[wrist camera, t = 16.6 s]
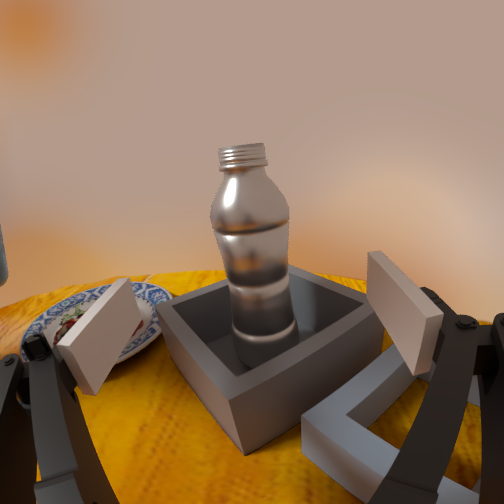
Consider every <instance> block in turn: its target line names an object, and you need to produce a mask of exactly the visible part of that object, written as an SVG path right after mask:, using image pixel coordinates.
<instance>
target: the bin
mask: <svg viewBox="0 0 504 504" xmlns="http://www.w3.org/2000/svg"><path fill="white" fill-rule="evenodd" d="M288 274H289V288H290V293H291V299H292V305H293V311H294V314H295V317H296V320H297V324H298V328H299V333H300V340H299V344H298V345H296V346H295V347H293V348H291V349H289V350H288V351H286V352H284V353H282V354H280V355H279V356H277V357H275V358H273V359H271V360H269V361H267V362H266V363H264V364H262V365H260V366H258V367H256V368H254V369H253V368H250V367H249V366H247V365H246V364H244V363H243V362H242V361H241V360H240V359H239V357H238V356H237V353H236V351H235V349H234V346H233V343H232V310H231V300H230V290H229V285H228V281H227V280H228V279H225V280H222V281H219V282H217V283H214V284H211V285H208V286H206V287H203V288H200V289H197V290H195V291H192V292H189V293H186V294H183V295H181V296H178V297H175V298H172V299H169V300H167V301H164V302H161V303H158V304H155V305H154V308H155V311H156V314H157V317H158V321H159V324H160V327H161V330H162V333H163V336H164V339H165V342H166V345H167V348H168V351H169V354H170V357H171V359H172V360H173V362H174V363H175V365H176V366H177V368H178V369H179V371H180V372H181V374H182V375H183V377H184V378H185V379H186V381H187V382H188V384H189V385H190V387H191V388H192V389H193V391H194V392H195V394H196V395H197V396H198V398H199V399H200V400H201V402H202V403H203V405H204V406H205V407H206V409H207V410H208V411H209V413H210V414H211V415H212V416H213V418H214V419H215V420H216V422H217V423H218V424H219V425H220V427H221V428H222V429H223V430H224V432H225V433H226V434H227V435H228V437H229V438H230V439H231V440H232V442H233V443H234V444H235V445H236V446H237V448H238V449H239V450H240V451H241V452H242V453H243V455H244V456H245V455H247V454H249V453H251V452H253V451H254V450H256V449H258V448H260V447H261V446H263V445H265V444H267V443H268V442H270V441H272V440H273V439H275V438H277V437H278V436H280V435H281V434H283V433H285V432H286V431H288V430H289V429H291V428H292V427H294V426H296V425H297V424H299V423H300V422H301V415H302V414H304V413H305V412H307V411H308V410H310V409H311V408H313V407H314V406H316V405H317V404H318V403H320V402H321V401H323V400H324V399H325V398H327V397H328V396H330V395H331V394H332V393H334V392H335V391H336V390H338V389H339V388H340V387H342V386H343V385H344V384H346V383H347V382H348V381H349V380H351V379H352V378H353V377H354V376H356V375H357V374H358V373H359V372H361V371H362V370H363V369H364V368H366V367H367V366H368V365H369V364H370V363H372V362H373V361H374V360H375V359H376V358H377V357H379V356H380V355H381V348H382V341H383V334H384V326H383V324H382V322H381V321H380V319H379V317H378V316H377V314H376V313H375V311H374V309H373V308H372V306H371V305H370V303H369V302H368V300H367V298H366V294H364V293H362V292H359V291H357V290H354V289H351V288H349V287H346V286H344V285H341V284H339V283H336V282H333V281H331V280H328V279H326V278H323V277H320V276H318V275H315V274H313V273H310V272H307V271H305V270H302V269H299V268H297V267H294V266H292V265H289V264H288Z"/></svg>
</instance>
